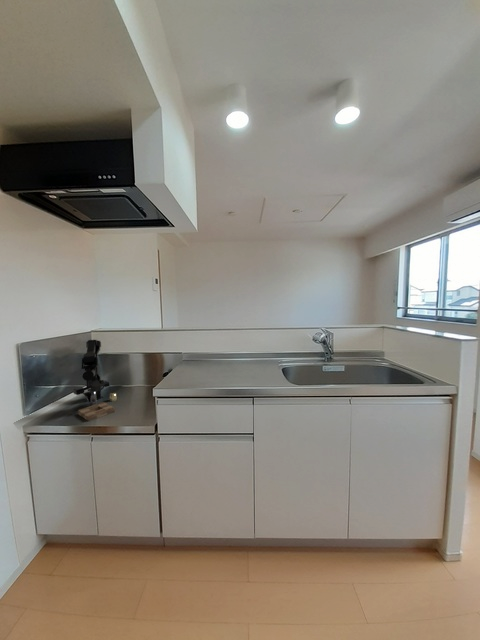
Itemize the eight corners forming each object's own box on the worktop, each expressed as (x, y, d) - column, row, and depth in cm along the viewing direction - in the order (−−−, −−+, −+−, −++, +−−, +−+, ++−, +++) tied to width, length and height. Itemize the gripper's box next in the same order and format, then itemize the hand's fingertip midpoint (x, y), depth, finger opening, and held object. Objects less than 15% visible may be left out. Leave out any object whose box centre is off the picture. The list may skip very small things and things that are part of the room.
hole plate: (78, 414, 149) (78, 410, 148) (103, 405, 160) (103, 401, 159) (88, 421, 140) (88, 416, 140) (114, 411, 151) (114, 407, 151)
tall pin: (88, 404, 159) (87, 391, 158) (95, 402, 162) (94, 389, 161) (91, 406, 156) (90, 393, 156) (98, 403, 159) (97, 391, 159)
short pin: (108, 400, 168) (108, 394, 168) (114, 398, 171) (114, 392, 171) (111, 401, 166) (111, 395, 165) (117, 399, 169) (117, 393, 168)
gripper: (79, 382, 145) (81, 409, 147) (112, 374, 160) (114, 398, 161) (71, 379, 152) (74, 405, 154) (104, 371, 167) (106, 395, 168)
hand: (93, 400), depth 159 cm, fingers closed on tall pin, 4 cm apart
